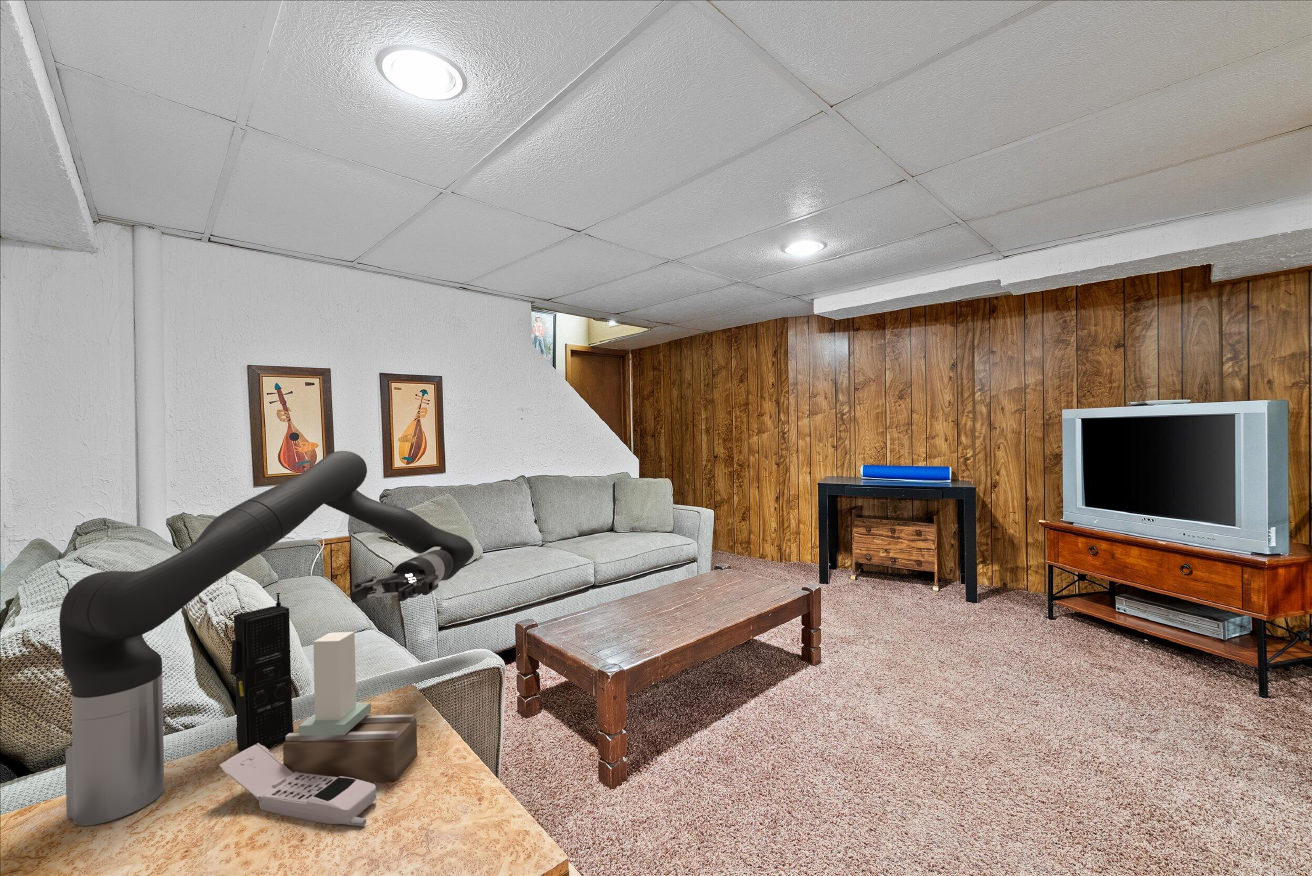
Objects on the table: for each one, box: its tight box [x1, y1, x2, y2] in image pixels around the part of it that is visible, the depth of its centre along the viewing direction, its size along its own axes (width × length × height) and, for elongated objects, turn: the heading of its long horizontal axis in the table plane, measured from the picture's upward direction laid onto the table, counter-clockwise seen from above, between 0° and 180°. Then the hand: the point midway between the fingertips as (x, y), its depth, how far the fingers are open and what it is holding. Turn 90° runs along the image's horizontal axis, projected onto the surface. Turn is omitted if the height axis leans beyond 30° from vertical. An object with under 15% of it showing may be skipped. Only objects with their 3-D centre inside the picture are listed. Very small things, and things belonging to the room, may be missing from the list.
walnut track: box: [282, 713, 418, 783], centre depth 83 cm, size 17×7×7 cm, turn 88°
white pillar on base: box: [298, 631, 372, 736], centre depth 83 cm, size 7×7×14 cm
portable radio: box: [230, 592, 294, 752], centre depth 91 cm, size 8×6×25 cm
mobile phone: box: [218, 743, 377, 827], centre depth 75 cm, size 6×6×25 cm
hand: (376, 596), depth 96 cm, fingers open, 8 cm apart
